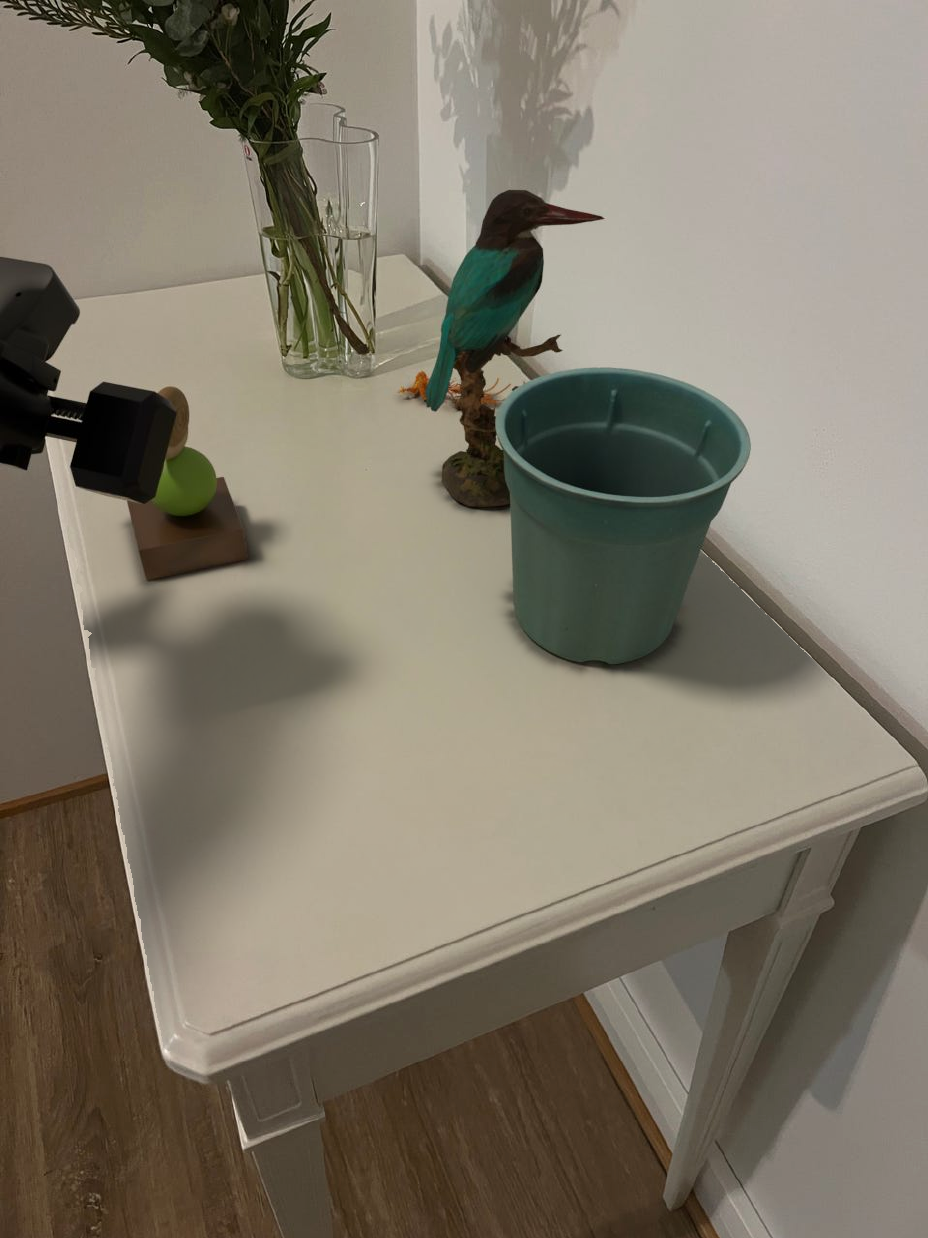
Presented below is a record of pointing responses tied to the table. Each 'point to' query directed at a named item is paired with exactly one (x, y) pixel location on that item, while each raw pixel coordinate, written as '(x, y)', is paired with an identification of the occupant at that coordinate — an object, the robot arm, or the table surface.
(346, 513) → the table surface
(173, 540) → the riser
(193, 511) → the snail figurine
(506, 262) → the sculpture
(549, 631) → the flower pot
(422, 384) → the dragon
